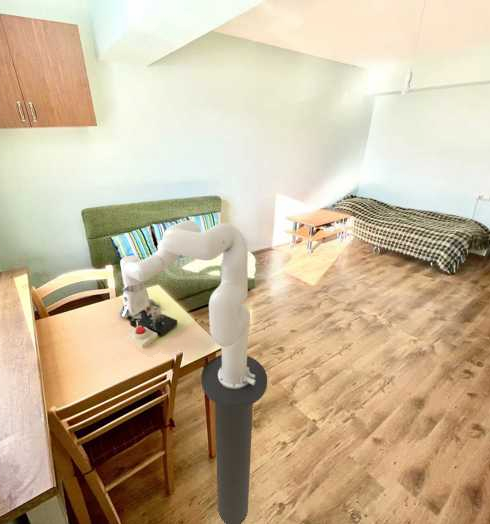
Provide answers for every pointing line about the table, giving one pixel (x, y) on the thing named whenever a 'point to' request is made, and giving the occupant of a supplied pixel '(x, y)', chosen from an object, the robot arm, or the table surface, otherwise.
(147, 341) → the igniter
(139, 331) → the igniter button
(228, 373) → the robot arm
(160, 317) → the stove knob
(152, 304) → the salad plate
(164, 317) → the hob panel
